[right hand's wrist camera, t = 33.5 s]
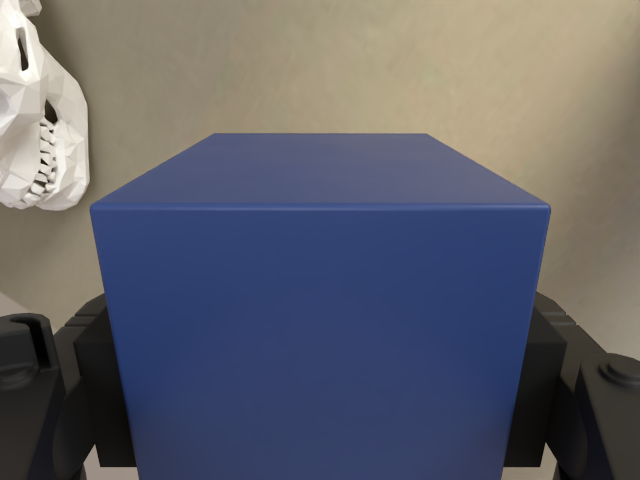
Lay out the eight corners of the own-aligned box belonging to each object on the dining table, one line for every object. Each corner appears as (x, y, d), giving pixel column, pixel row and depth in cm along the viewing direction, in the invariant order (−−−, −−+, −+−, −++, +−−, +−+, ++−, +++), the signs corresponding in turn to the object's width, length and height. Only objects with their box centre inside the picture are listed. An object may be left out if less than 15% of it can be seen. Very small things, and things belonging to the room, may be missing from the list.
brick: (228, 338, 17) (152, 561, 9) (212, 133, 14) (84, 204, 6) (411, 338, 17) (487, 561, 9) (428, 133, 14) (555, 204, 6)
